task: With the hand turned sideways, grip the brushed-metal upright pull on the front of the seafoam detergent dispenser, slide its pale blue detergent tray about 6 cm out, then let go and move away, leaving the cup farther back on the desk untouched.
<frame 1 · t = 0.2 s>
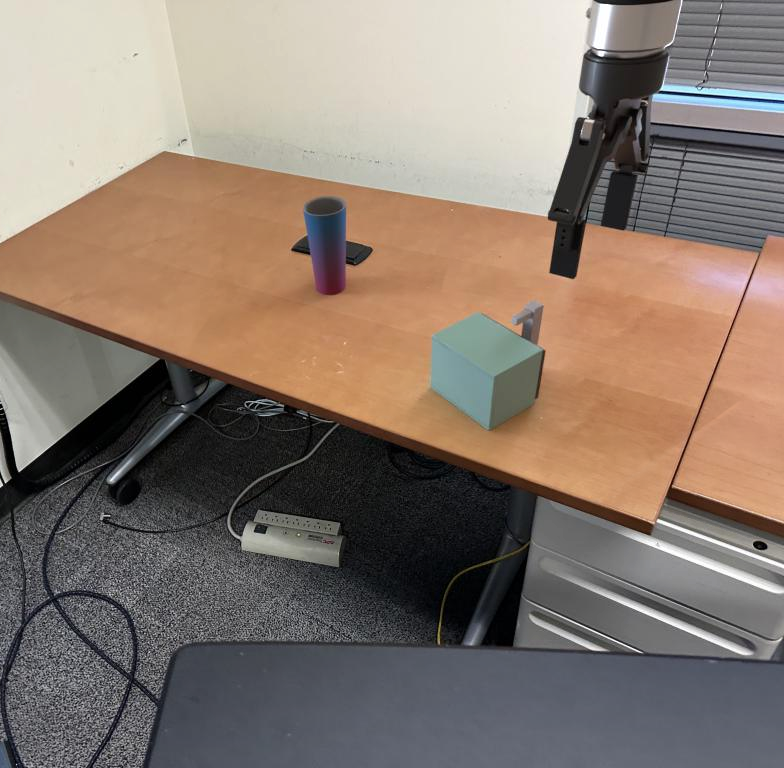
hand: (589, 250, 78), 21 cm above the table, tool pointing down, fingers open, 13 cm apart
detergent tray: (500, 352, 89), point 6 cm above the table, slide at 0.0 cm
cup: (330, 287, 117), on the table
dispenser: (480, 395, 92), on the table
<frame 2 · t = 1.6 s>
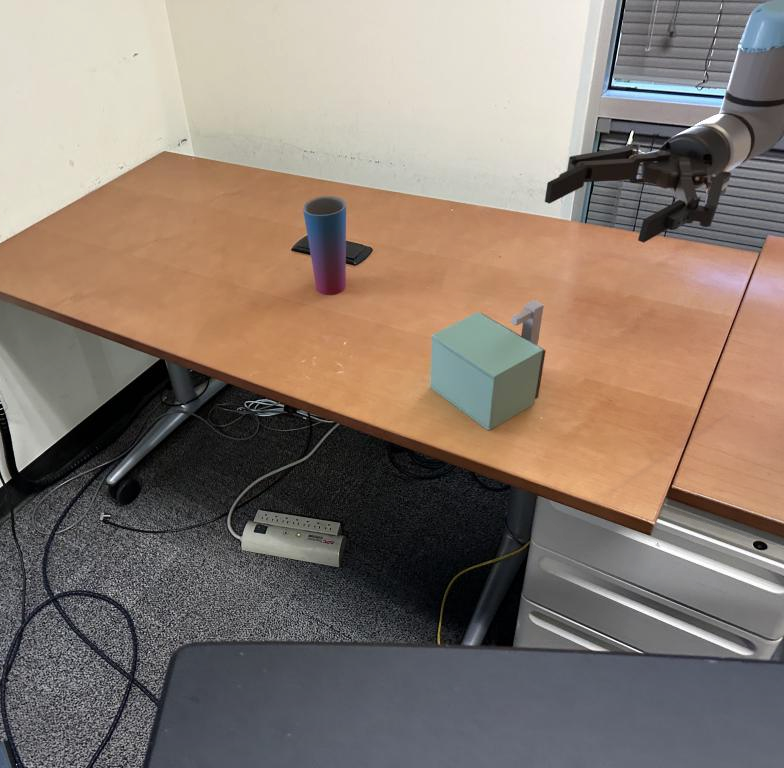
hand: (593, 211, 84), 21 cm above the table, tool horizontal, fingers open, 13 cm apart
nothing on the table moved.
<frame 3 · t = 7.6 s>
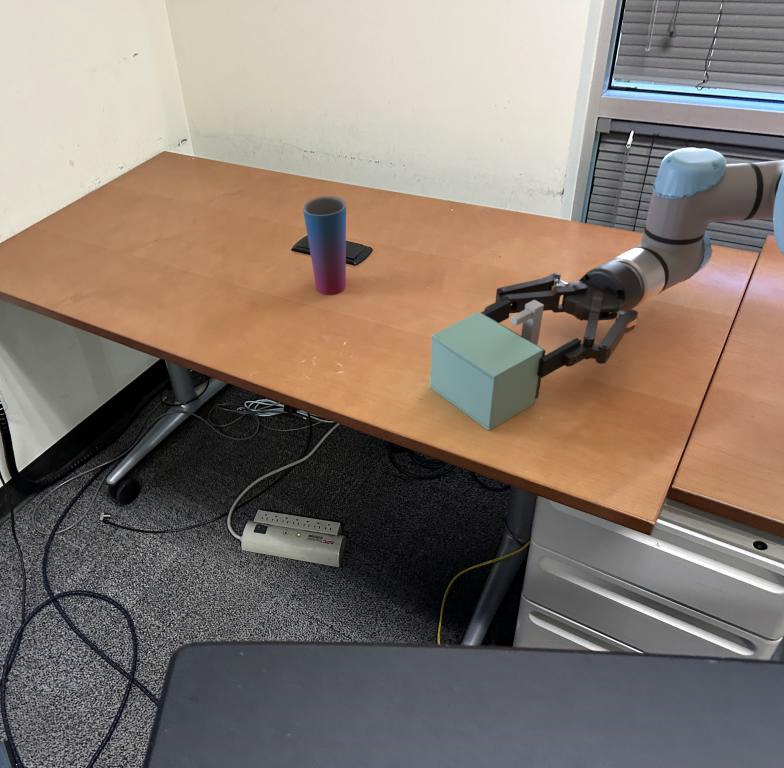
hand: (505, 346, 89), 6 cm above the table, tool horizontal, fingers closed on dispenser, 11 cm apart
nothing on the table moved.
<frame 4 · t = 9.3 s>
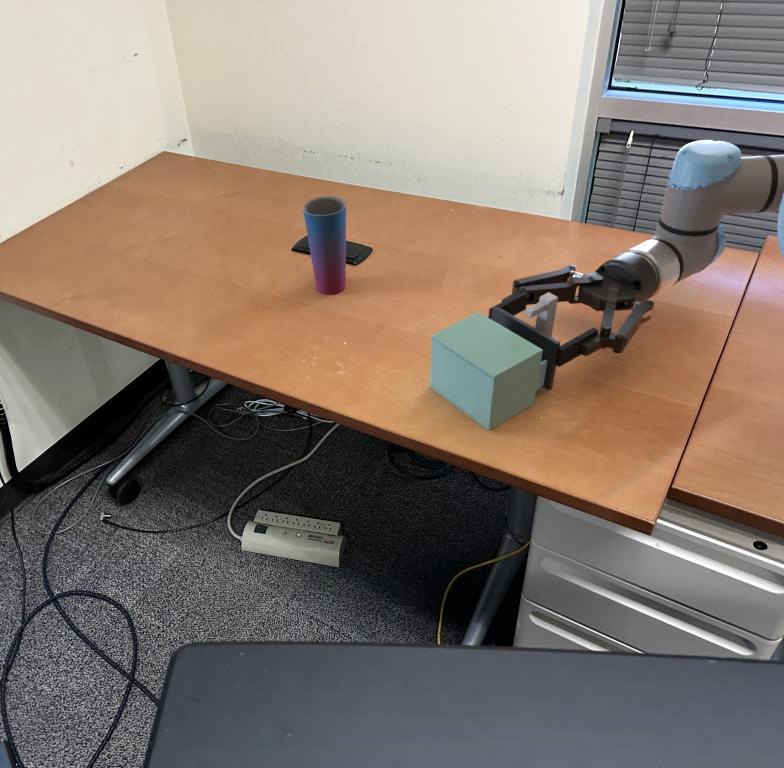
hand: (522, 336, 90), 7 cm above the table, tool horizontal, fingers closed on detergent tray, 11 cm apart
detergent tray: (515, 344, 90), point 6 cm above the table, slide at 2.6 cm, touching gripper
everything else where it was.
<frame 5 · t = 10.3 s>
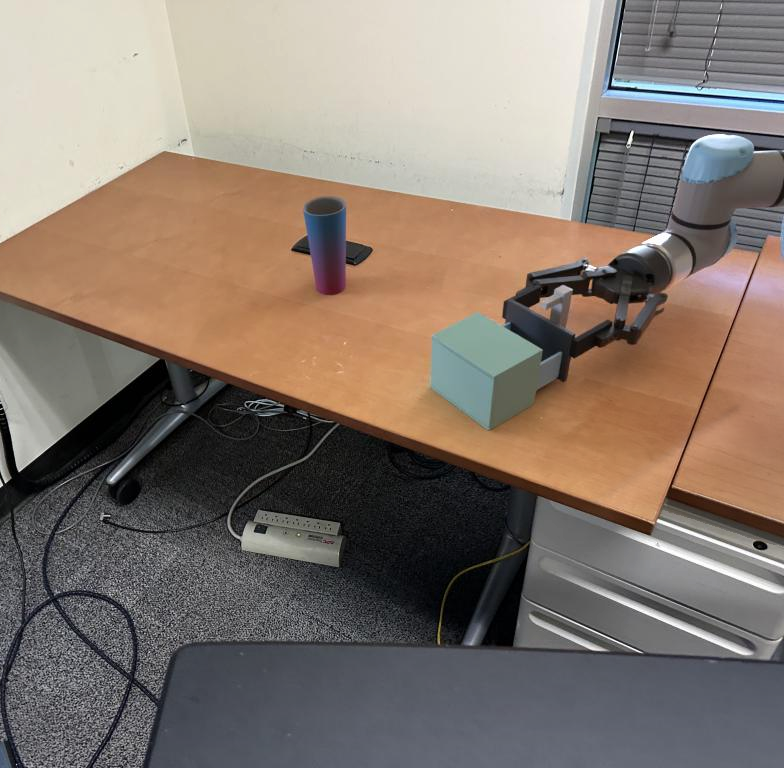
hand: (537, 329, 91), 7 cm above the table, tool horizontal, fingers closed on detergent tray, 11 cm apart
detergent tray: (530, 336, 91), point 6 cm above the table, slide at 5.3 cm, touching gripper
everything else where it was.
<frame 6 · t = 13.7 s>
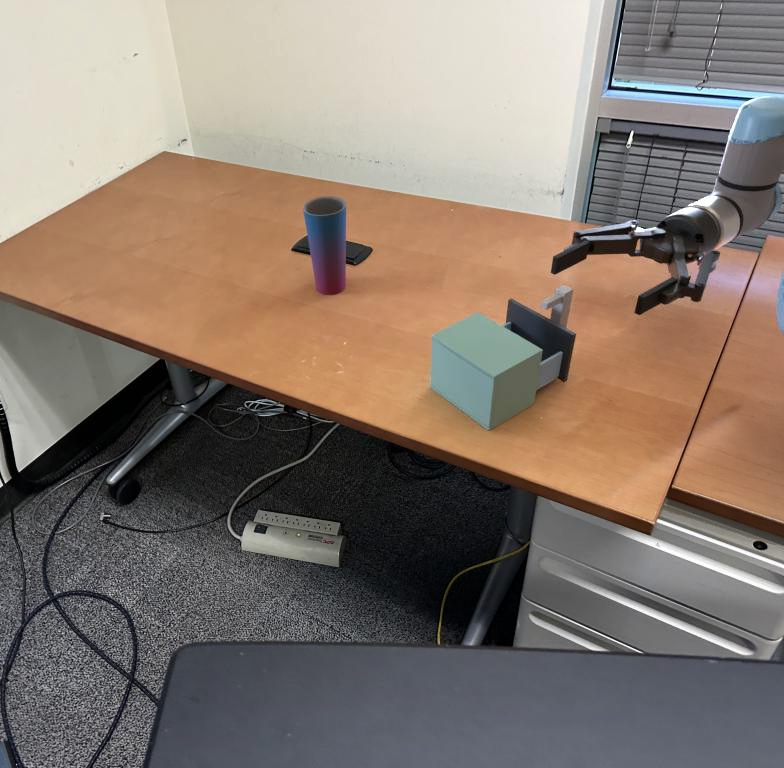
hand: (594, 284, 93), 9 cm above the table, tool horizontal, fingers open, 13 cm apart
detergent tray: (530, 336, 91), point 6 cm above the table, slide at 5.4 cm
everything else where it was.
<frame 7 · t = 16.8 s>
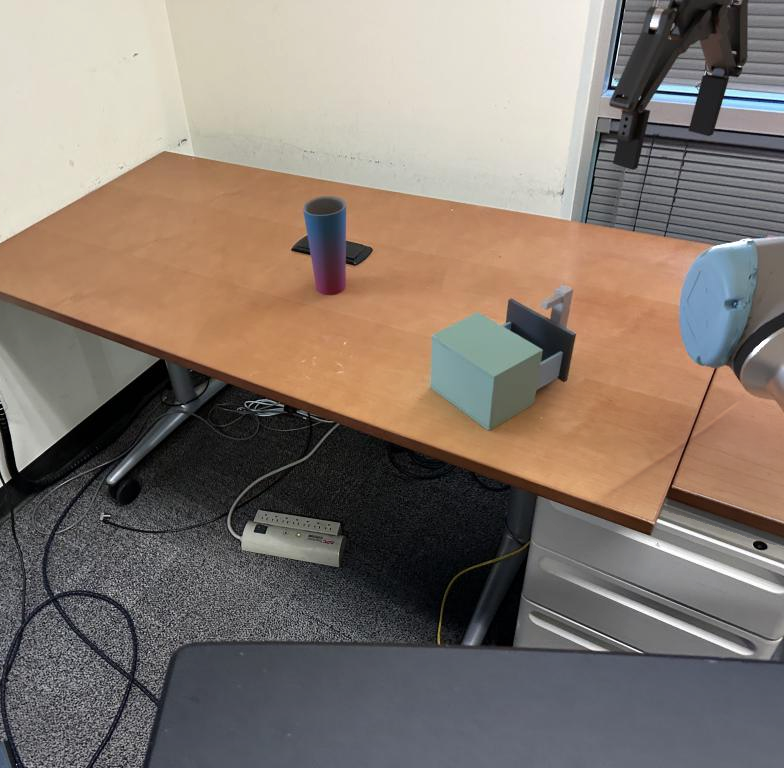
hand: (663, 149, 82), 27 cm above the table, tool pointing down, fingers open, 13 cm apart
nothing on the table moved.
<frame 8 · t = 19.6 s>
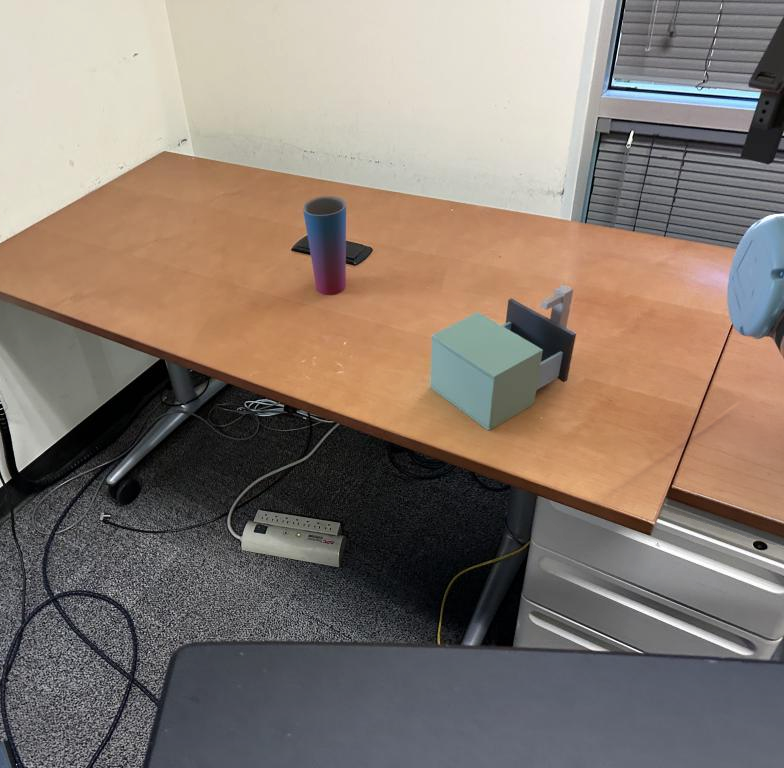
nothing on the table moved.
at the end: detergent tray slide at 5.4 cm; the gripper is holding nothing; cup moved 0.2 cm from its start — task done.
